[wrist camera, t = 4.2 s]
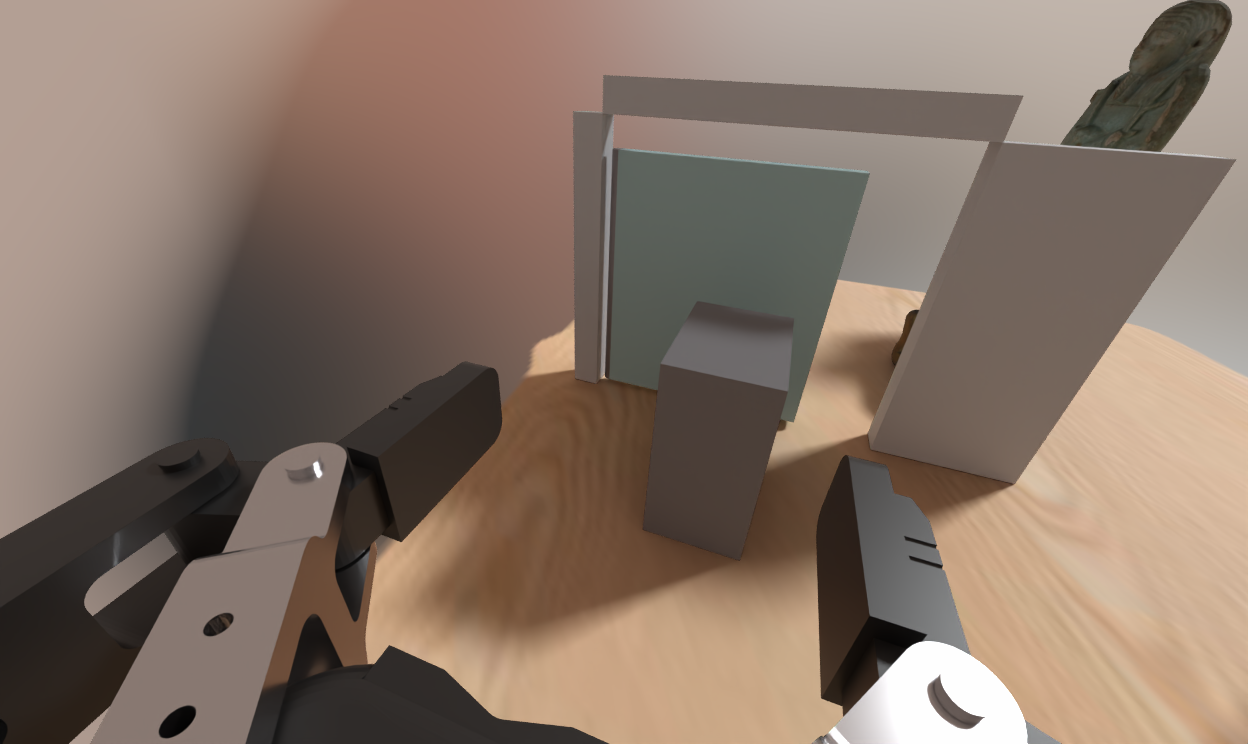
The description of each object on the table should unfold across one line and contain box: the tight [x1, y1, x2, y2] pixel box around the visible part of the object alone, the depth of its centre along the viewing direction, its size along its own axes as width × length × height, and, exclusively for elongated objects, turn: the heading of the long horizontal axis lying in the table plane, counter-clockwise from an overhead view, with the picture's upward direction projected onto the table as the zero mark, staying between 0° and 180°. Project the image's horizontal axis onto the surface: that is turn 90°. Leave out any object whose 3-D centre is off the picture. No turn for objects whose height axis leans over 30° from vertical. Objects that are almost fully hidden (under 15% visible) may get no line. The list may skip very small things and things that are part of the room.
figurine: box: [1060, 0, 1232, 152], centre depth 45 cm, size 9×7×30 cm
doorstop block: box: [643, 301, 794, 561], centre depth 26 cm, size 6×8×11 cm
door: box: [605, 148, 870, 422], centre depth 33 cm, size 16×2×18 cm, turn 70°
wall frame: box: [573, 75, 1236, 484], centre depth 30 cm, size 32×2×22 cm, turn 70°
